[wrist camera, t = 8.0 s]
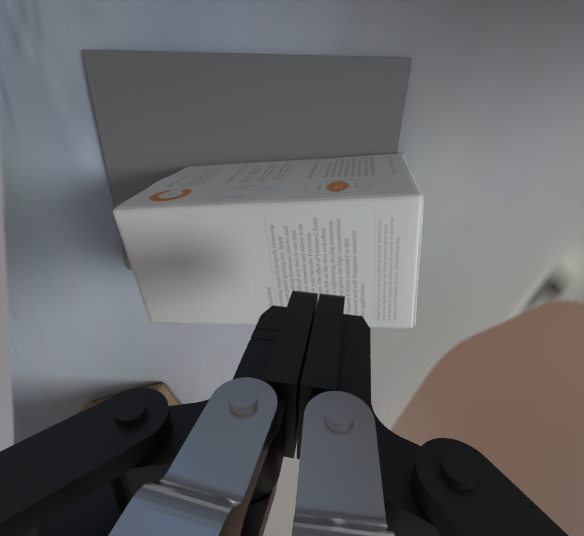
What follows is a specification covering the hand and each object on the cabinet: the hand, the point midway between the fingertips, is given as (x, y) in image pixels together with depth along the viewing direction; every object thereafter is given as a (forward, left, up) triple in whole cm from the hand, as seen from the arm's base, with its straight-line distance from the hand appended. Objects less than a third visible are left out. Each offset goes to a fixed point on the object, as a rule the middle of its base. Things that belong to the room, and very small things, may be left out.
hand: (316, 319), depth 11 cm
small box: (-4, +1, -9) cm, 10 cm away
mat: (+6, 0, -13) cm, 15 cm away
